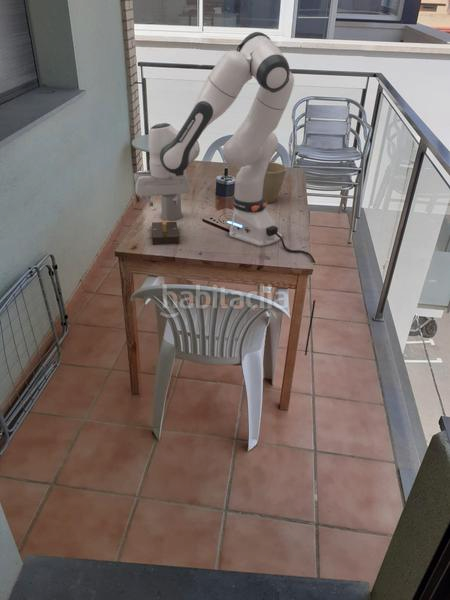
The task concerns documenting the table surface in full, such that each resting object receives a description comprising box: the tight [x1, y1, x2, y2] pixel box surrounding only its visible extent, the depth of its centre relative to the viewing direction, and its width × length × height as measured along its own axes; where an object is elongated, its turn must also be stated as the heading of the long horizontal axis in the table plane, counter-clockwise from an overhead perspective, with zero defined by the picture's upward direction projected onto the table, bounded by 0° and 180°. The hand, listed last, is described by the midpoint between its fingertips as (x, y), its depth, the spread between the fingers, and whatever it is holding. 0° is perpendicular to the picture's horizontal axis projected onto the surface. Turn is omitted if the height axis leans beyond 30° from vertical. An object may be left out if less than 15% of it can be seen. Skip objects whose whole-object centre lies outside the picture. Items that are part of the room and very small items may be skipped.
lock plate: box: [151, 221, 180, 245], centre depth 186 cm, size 14×10×3 cm
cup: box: [160, 194, 182, 221], centre depth 201 cm, size 8×8×10 cm
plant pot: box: [262, 161, 287, 204], centre depth 217 cm, size 15×15×16 cm
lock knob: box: [161, 218, 167, 232], centre depth 185 cm, size 5×1×3 cm, turn 8°
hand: (163, 204), depth 180 cm, fingers open, 8 cm apart
